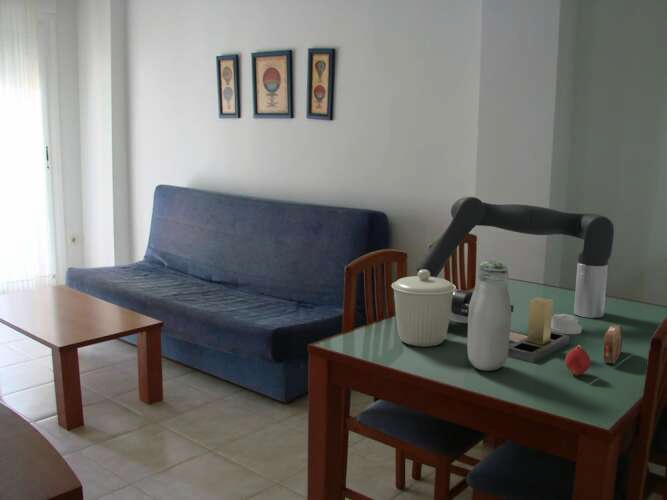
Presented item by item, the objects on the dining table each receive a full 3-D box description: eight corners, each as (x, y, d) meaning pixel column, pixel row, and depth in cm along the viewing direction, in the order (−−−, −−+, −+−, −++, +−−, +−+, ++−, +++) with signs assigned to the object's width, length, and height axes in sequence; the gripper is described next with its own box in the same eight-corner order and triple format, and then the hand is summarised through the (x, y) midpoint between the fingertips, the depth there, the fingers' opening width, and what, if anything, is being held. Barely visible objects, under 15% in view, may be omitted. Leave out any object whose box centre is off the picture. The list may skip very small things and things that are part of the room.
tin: (613, 368, 164) (615, 337, 162) (600, 366, 165) (602, 334, 164) (622, 352, 176) (624, 322, 175) (609, 349, 178) (612, 320, 176)
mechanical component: (549, 334, 192) (584, 336, 190) (550, 320, 191) (585, 322, 189) (545, 324, 201) (578, 327, 200) (545, 311, 201) (579, 313, 199)
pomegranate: (560, 371, 161) (562, 341, 160) (582, 371, 162) (584, 340, 160) (570, 380, 156) (572, 349, 154) (593, 379, 156) (595, 348, 155)
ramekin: (478, 315, 211) (479, 299, 210) (483, 325, 200) (483, 309, 199) (444, 314, 212) (444, 298, 211) (446, 323, 201) (447, 307, 200)
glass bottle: (483, 378, 156) (488, 266, 151) (459, 364, 166) (463, 258, 161) (515, 372, 160) (522, 263, 155) (490, 359, 169) (495, 255, 164)
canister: (416, 328, 197) (418, 260, 193) (466, 341, 184) (469, 270, 180) (377, 341, 184) (378, 269, 180) (427, 356, 172) (430, 280, 168)
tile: (499, 338, 187) (499, 337, 187) (511, 333, 192) (511, 332, 192) (521, 344, 182) (521, 342, 182) (533, 338, 187) (533, 337, 187)
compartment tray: (533, 363, 167) (533, 354, 166) (505, 356, 172) (505, 347, 172) (569, 344, 182) (569, 335, 182) (542, 337, 188) (543, 329, 187)
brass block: (526, 349, 177) (529, 300, 175) (534, 345, 180) (537, 297, 178) (542, 352, 174) (545, 303, 172) (549, 349, 177) (552, 299, 175)
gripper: (443, 294, 188) (493, 304, 177) (469, 285, 198) (518, 294, 187) (443, 318, 189) (492, 330, 178) (468, 309, 199) (516, 319, 188)
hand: (505, 312), depth 183 cm, fingers open, 8 cm apart
